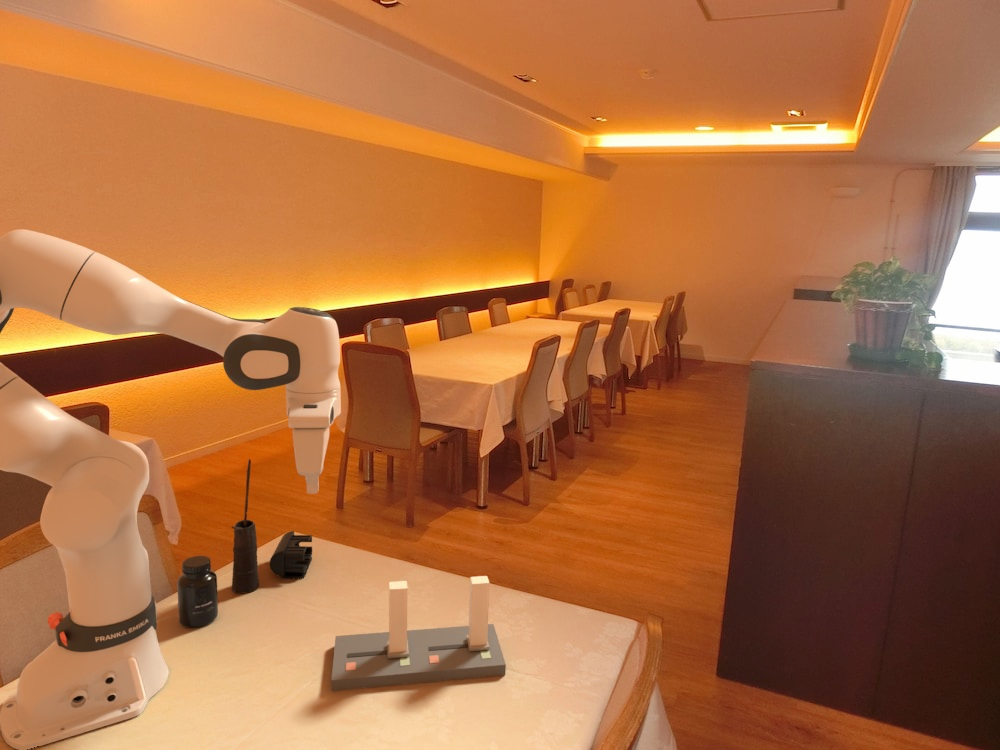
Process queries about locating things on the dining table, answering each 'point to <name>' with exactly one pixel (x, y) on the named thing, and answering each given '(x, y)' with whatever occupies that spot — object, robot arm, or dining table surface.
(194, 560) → the supplement bottle
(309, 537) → the end cap
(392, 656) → the breaker lever
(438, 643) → the breaker panel
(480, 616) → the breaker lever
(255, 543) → the butter churn
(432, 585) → the dining table surface
